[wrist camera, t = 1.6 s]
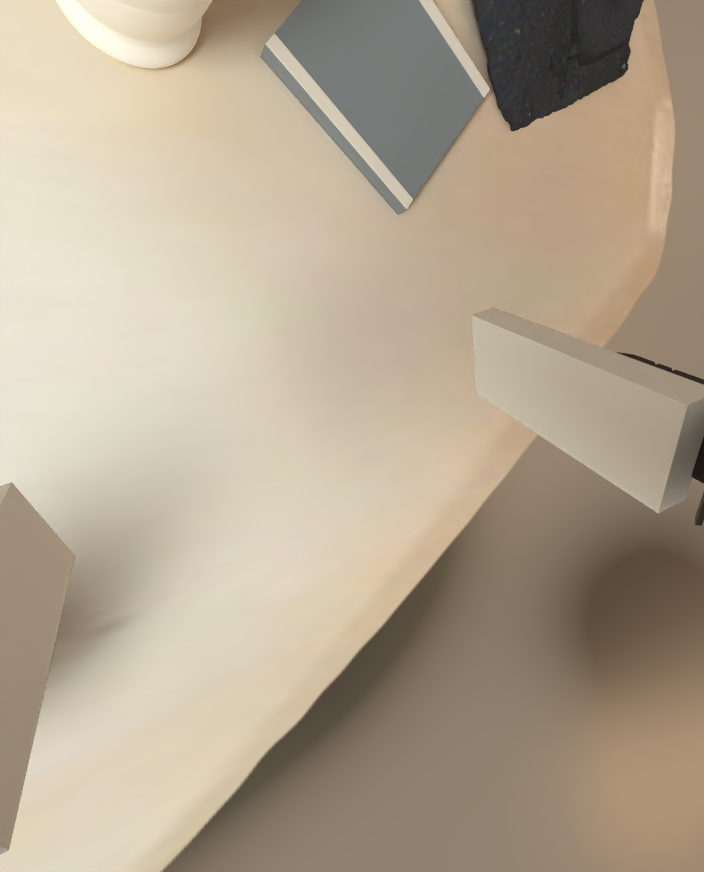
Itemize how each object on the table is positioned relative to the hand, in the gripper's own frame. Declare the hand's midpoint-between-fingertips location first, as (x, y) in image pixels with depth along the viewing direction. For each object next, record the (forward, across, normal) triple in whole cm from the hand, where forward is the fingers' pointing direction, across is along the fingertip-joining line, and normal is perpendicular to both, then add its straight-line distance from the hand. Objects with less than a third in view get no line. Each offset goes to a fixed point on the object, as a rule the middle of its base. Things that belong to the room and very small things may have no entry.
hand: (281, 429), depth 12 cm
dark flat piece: (+35, +39, +11) cm, 53 cm away
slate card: (+29, +18, +9) cm, 35 cm away
